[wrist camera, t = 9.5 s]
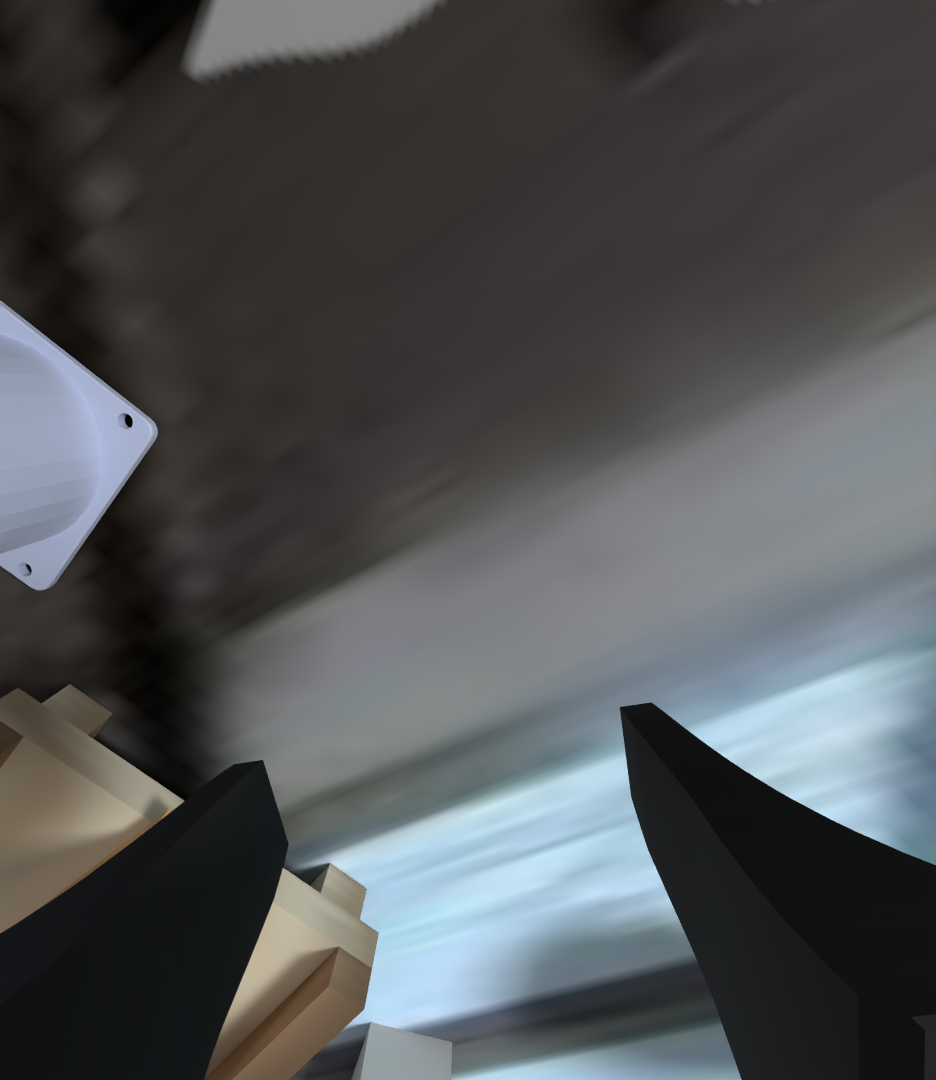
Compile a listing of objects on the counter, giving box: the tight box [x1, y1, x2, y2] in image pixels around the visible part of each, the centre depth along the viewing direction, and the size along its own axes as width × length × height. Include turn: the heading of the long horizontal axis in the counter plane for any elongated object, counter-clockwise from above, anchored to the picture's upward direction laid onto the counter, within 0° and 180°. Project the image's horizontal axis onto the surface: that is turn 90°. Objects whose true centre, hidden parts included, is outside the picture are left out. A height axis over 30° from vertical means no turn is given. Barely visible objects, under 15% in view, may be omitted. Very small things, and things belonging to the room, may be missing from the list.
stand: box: [0, 684, 378, 1080], centre depth 22 cm, size 17×10×4 cm, turn 50°
